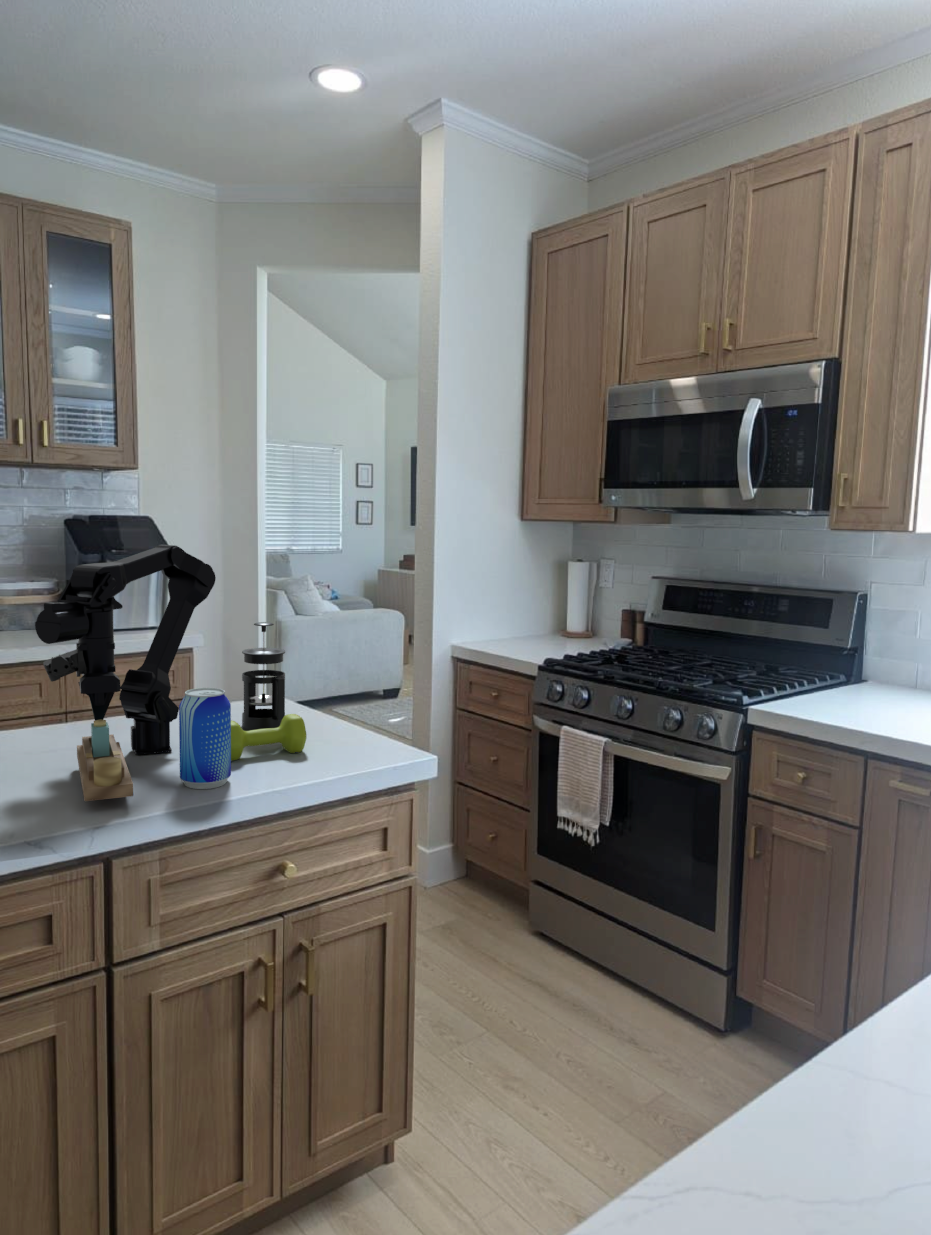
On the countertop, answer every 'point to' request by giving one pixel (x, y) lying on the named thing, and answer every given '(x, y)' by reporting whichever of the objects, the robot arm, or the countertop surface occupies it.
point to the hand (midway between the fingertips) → (98, 722)
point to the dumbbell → (270, 736)
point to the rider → (100, 738)
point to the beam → (103, 772)
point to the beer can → (205, 738)
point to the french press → (263, 717)
